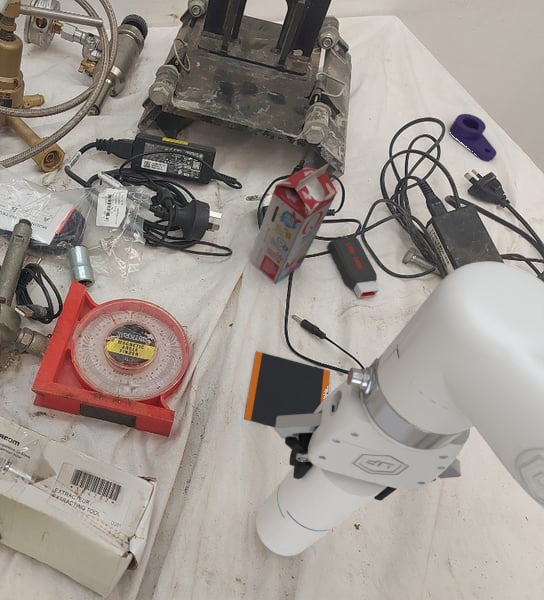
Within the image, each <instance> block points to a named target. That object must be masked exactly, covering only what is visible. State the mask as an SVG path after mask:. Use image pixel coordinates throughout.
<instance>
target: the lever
mask: <svg viewBox="0 0 544 600" xmlns="http://www.w3.org/2000/svg"><path fill="white" fill-rule="evenodd" d="M449 129H450V132H451V134H452V135H453V136H454V137H455V138H457V139H458V140H459V141H460V142H462V143H463V144H464V145H465V146H467V148H469V149H470V150H471V151H473V153H475V154H476V155H477V156H478V157H479V158H480V159H479V158H478V157H477V156H476V157H477V158H478V159H479V160H481V159H482V160H481V161H483V160H484V162H491V161H490V160H492V159H493V160H494V159H495V157H496V156H497V150H496V149H495V147H494V146H493V145H492V144H491V143H490V142H489V140H488V139H487V137H486V136H485V134H483V133H484V132H485V130H486V123H485V122H484V121H483V120H482V119H481V118H479V116H476V115H474V114H469V113H461V114H459V115H457V117H456V118H455V119H454V121H453V122H452V124H451V126H450V127H449ZM473 153H472V154H473ZM493 160H492V161H493Z"/></svg>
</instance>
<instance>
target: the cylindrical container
mask: <svg viewBox="0 0 544 600" xmlns="http://www.w3.org/2000/svg"><path fill="white" fill-rule="evenodd" d="M293 474H294V466H292V467H291V469H290V470H289V472H287V474H286V475H285V476H284V477H283V479H282V480H281V481H280V482H279V484H278V485H277V486H276V487H275V489H274V490H273V491H272V492H271V494H270V495H269V496H268V497H267V498H266V500H265V501H264V503H262V504H261V506H260V507H259V509H258V510H257V512H256V518H255V527H256V531H257V534H258V537H259V539H260V541H261V542H262V544H263V545H264V546H265V547H266V548H267V549H268V550H270V551H271V552H273V553H274V554H277V555H278V556H283V557H293V556H297V555H299V554H301V553H302V552H303V551H305V550H306V549H308V548H309V547H310V546H311V545H313V544H314V543H316V542H317V541H318V540H320V539H321V538H322V537H323V536H325V535H326V534H327V533H329V532H330V531H332V530H333V529H334V528H335V527H337V526H338V525H339V524H341V523H342V522H343V521H345V520H346V519H347V518H349V517H350V516H351V515H353V514H354V513H356V511H358V510H359V509H361V508H362V507H363V506H364V505H366V504H367V503H369V502H370V501H371V500H372V499H375V498H374V497H375V496H376V495H378V494H379V493H380V492H382V491H383V490H384V489H385V488H386V487H387V486H384V485H380V484H376V483H372V482H368V481H364V480H360V479H357V478H353V477H349V476H345V475H342V474H338V473H334V472H331V471H327V470H324V469H321V468H319V467H317V466H315V465H314V464H312V467H311V468H310V469H309V471H308V472H307V473H306V474H305V475H304V476H303V477H302V478H300V479H295V478H293Z"/></svg>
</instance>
